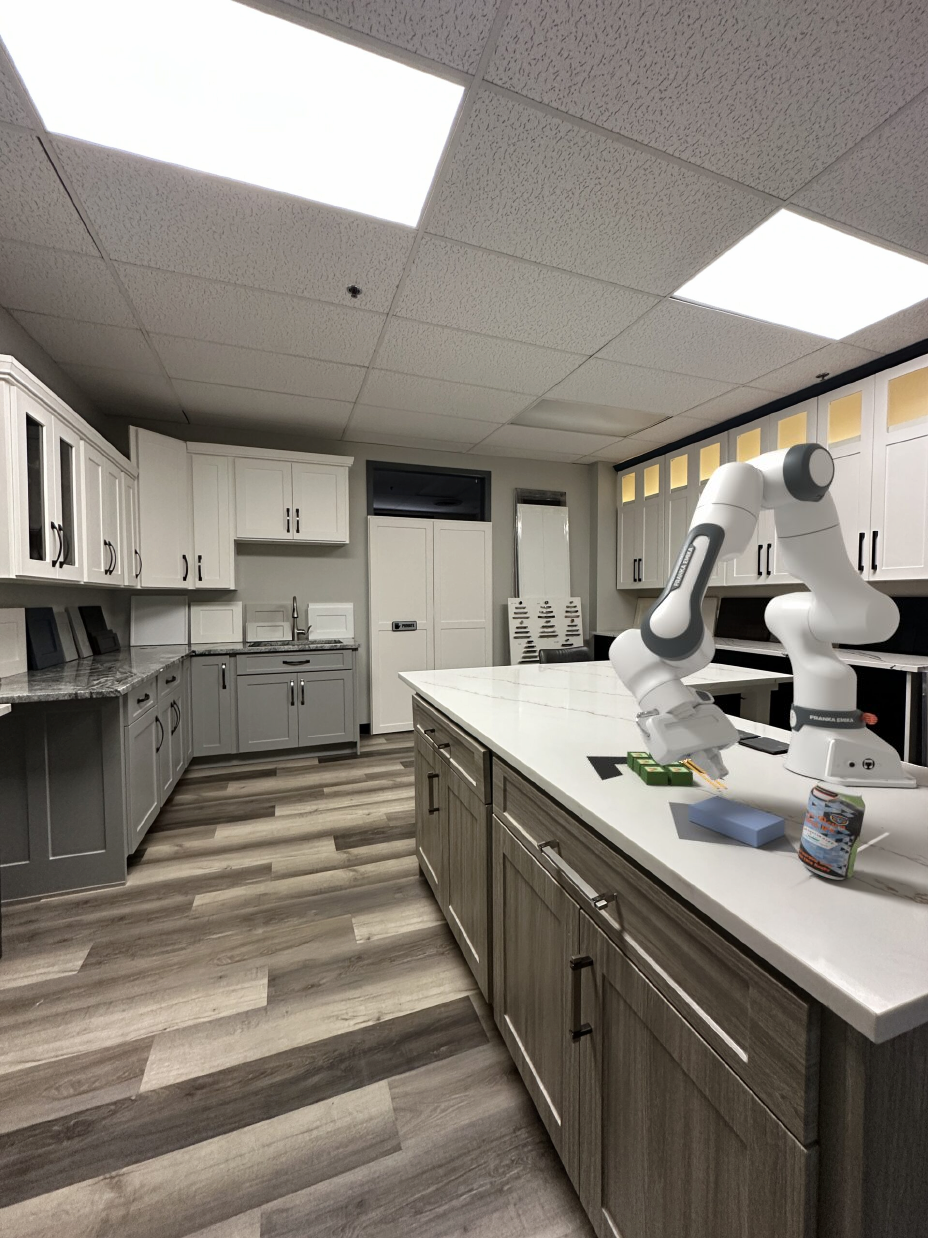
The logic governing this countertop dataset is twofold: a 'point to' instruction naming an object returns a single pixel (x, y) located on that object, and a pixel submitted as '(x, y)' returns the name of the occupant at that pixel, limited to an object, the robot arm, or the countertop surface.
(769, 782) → the countertop surface
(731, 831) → the card deck
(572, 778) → the countertop surface
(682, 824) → the rubber mat
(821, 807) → the beverage can
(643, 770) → the sushi
